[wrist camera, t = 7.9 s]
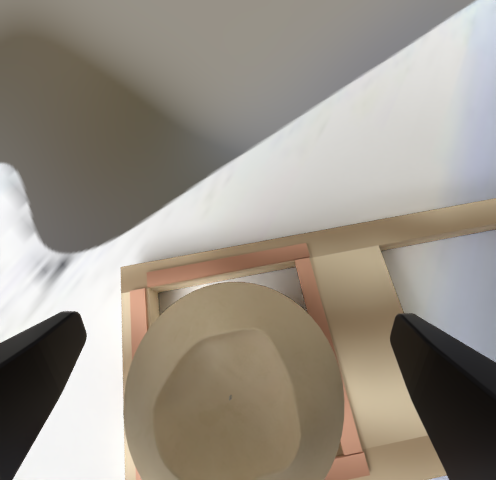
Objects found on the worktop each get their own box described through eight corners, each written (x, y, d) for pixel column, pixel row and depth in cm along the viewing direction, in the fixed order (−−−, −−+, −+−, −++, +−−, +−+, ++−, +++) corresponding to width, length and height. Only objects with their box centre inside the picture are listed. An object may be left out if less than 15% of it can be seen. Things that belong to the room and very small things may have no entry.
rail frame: (643, 413, 13) (695, 422, 12) (141, 522, 13) (124, 549, 11) (516, 202, 18) (543, 188, 16) (132, 273, 17) (118, 266, 15)
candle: (233, 292, 16) (201, 227, 7) (315, 347, 15) (414, 364, 6) (174, 377, 15) (29, 446, 5) (260, 446, 13) (268, 696, 4)
